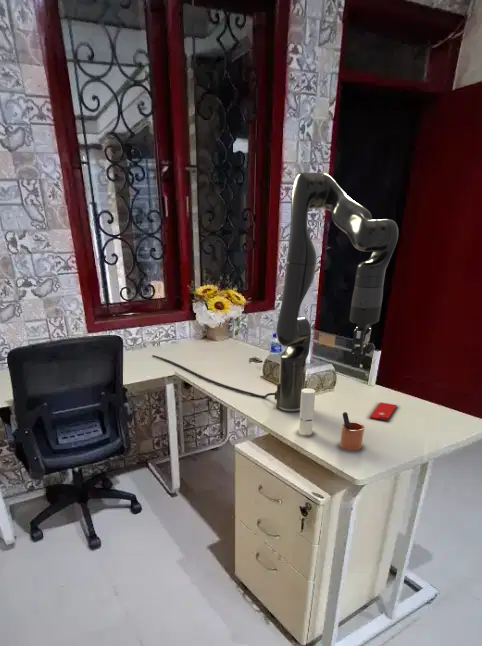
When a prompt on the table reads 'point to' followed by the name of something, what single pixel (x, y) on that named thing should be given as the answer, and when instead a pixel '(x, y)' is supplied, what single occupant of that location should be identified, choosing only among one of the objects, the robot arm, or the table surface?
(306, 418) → the tube
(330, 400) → the table surface
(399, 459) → the table surface
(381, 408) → the electronic device
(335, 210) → the robot arm
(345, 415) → the stylus
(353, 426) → the pen cup
